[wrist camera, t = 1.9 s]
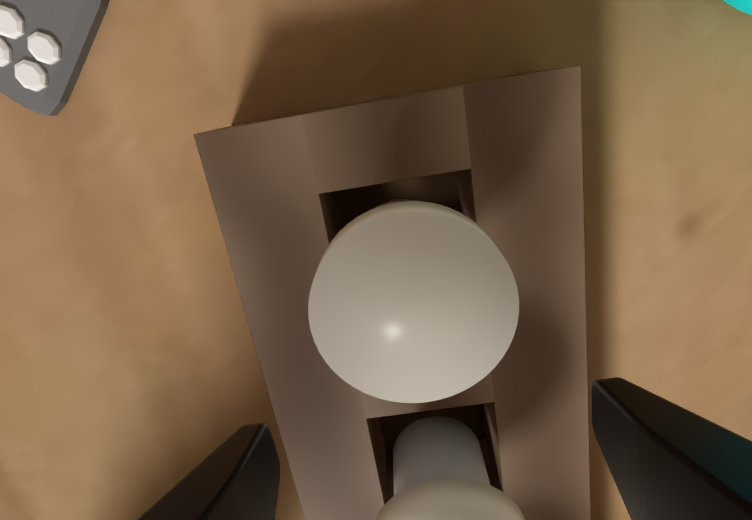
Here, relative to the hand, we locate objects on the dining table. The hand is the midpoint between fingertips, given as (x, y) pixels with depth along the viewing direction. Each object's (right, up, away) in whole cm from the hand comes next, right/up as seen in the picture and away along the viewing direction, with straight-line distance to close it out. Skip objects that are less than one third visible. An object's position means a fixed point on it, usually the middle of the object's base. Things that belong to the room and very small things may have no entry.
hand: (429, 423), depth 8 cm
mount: (+2, -4, +15) cm, 15 cm away
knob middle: (+2, -5, +12) cm, 13 cm away
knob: (0, +3, +9) cm, 9 cm away
